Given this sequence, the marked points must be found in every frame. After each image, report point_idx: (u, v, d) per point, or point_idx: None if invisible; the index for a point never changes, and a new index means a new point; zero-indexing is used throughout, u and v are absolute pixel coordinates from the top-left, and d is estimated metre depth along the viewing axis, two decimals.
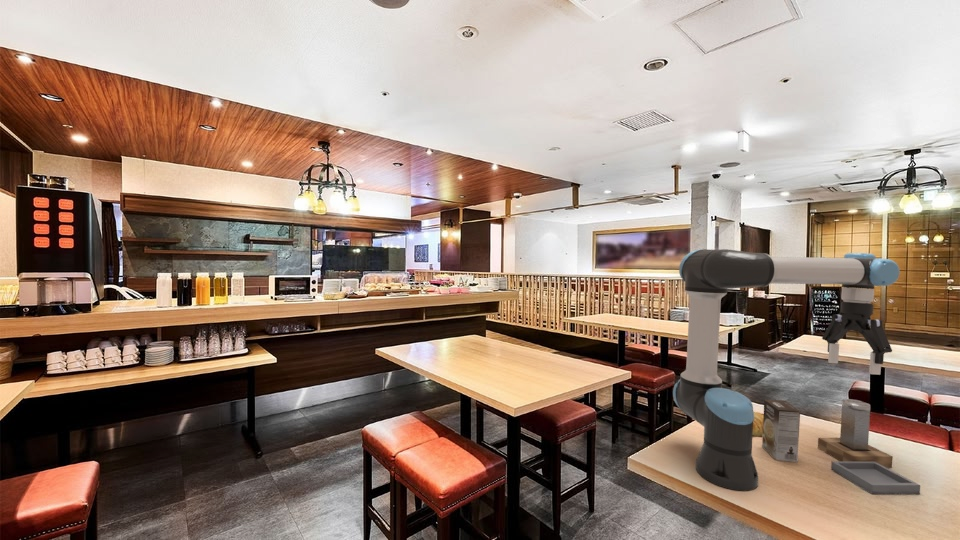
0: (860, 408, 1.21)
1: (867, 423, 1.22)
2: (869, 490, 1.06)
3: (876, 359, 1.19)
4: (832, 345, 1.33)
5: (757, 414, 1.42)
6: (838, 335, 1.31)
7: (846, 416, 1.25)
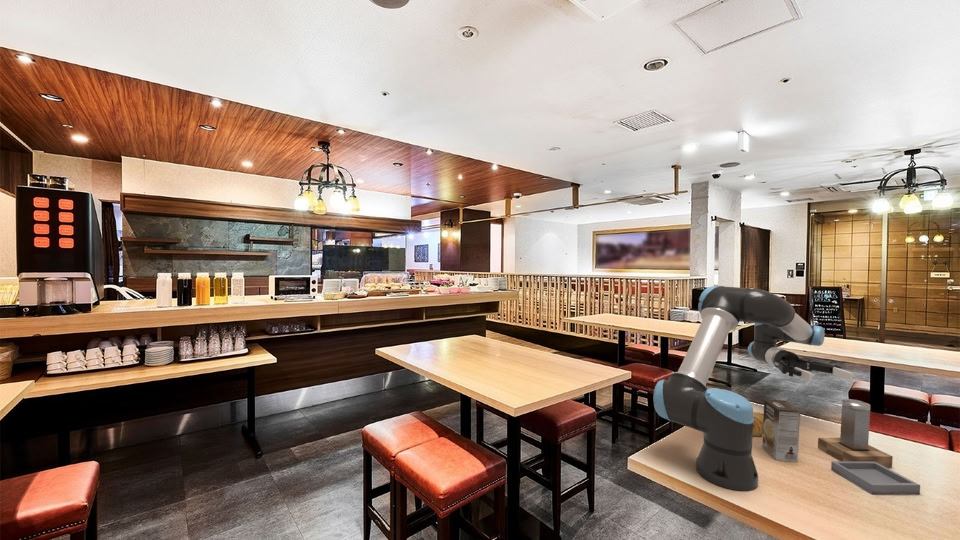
0: (860, 408, 1.21)
1: (867, 423, 1.22)
2: (869, 490, 1.06)
3: None
4: None
5: (757, 414, 1.42)
6: (793, 366, 1.42)
7: (846, 416, 1.25)
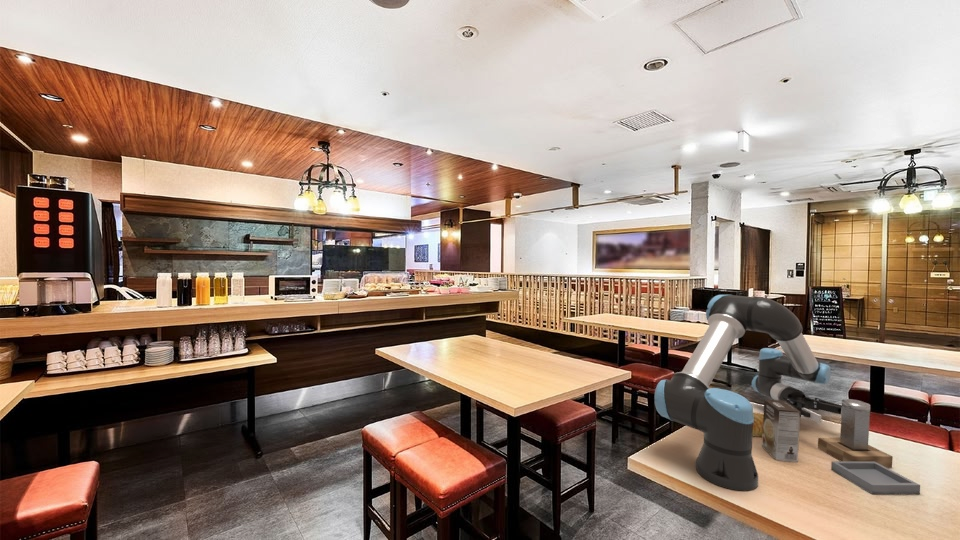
0: (860, 408, 1.21)
1: (867, 423, 1.22)
2: (869, 490, 1.06)
3: None
4: None
5: (758, 415, 1.42)
6: None
7: (846, 416, 1.25)
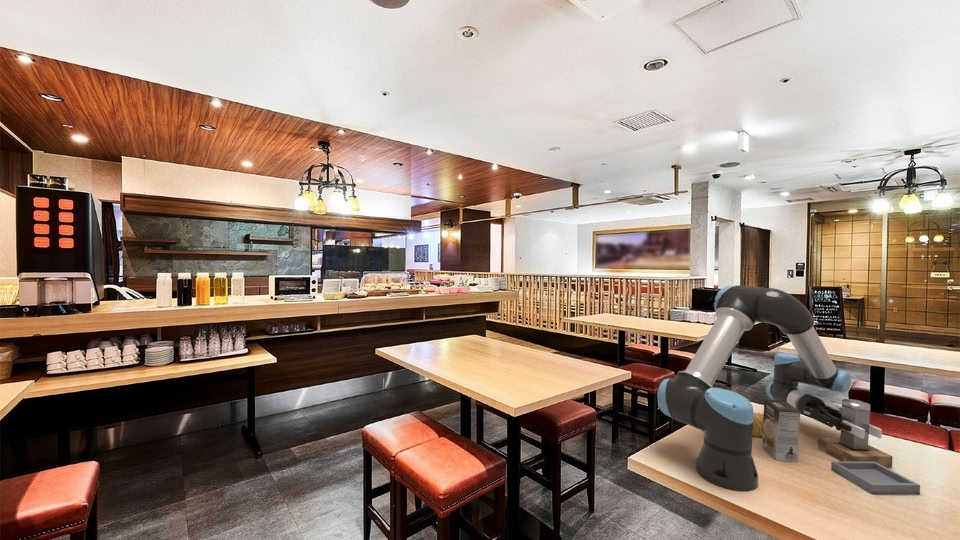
0: (860, 408, 1.21)
1: (867, 423, 1.22)
2: (869, 490, 1.06)
3: None
4: None
5: (758, 415, 1.41)
6: None
7: (846, 416, 1.25)
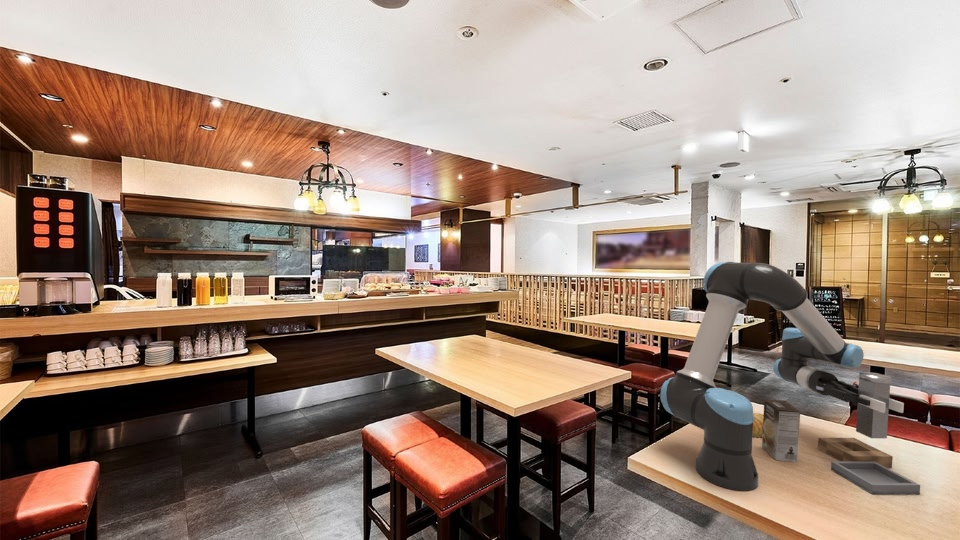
0: (880, 380, 1.11)
1: (887, 397, 1.12)
2: (869, 490, 1.06)
3: None
4: None
5: (758, 415, 1.41)
6: None
7: (864, 390, 1.15)
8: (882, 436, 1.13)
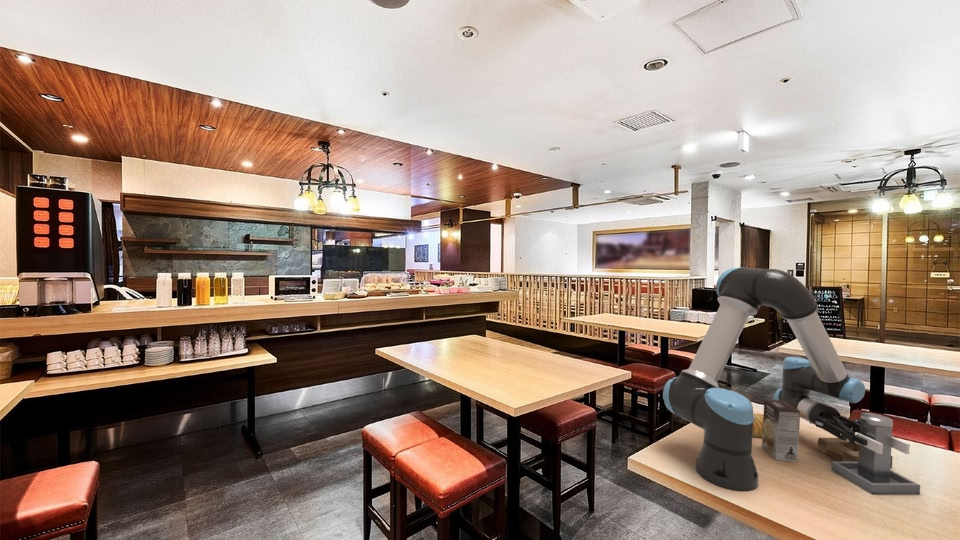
0: (882, 424, 1.08)
1: (889, 440, 1.09)
2: (869, 490, 1.06)
3: None
4: None
5: (759, 415, 1.41)
6: None
7: (865, 432, 1.11)
8: (884, 481, 1.09)
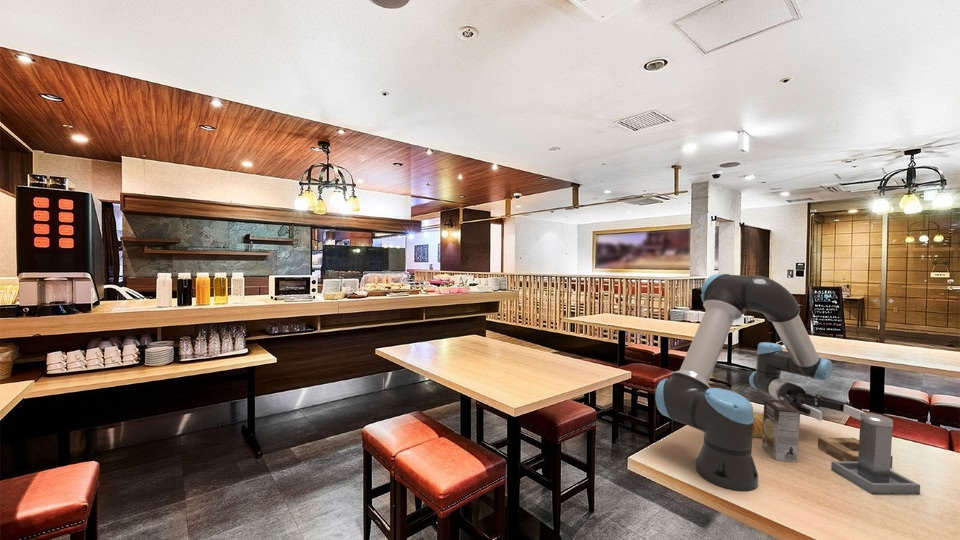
0: (882, 424, 1.08)
1: (889, 440, 1.09)
2: (869, 490, 1.06)
3: None
4: None
5: (759, 416, 1.41)
6: (801, 402, 1.30)
7: (865, 432, 1.11)
8: (884, 481, 1.09)
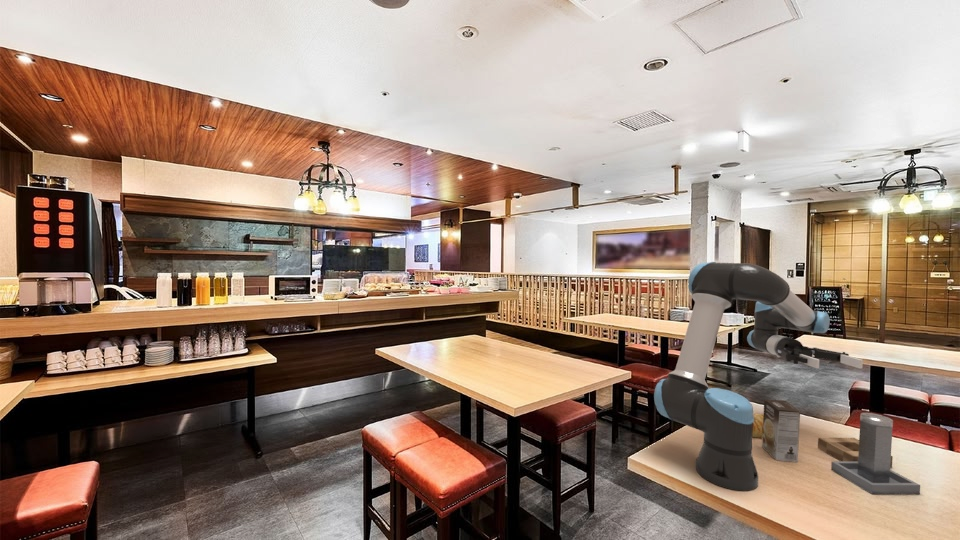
0: (882, 424, 1.08)
1: (889, 440, 1.09)
2: (869, 490, 1.06)
3: None
4: None
5: (760, 416, 1.40)
6: None
7: (865, 432, 1.11)
8: (884, 481, 1.09)
